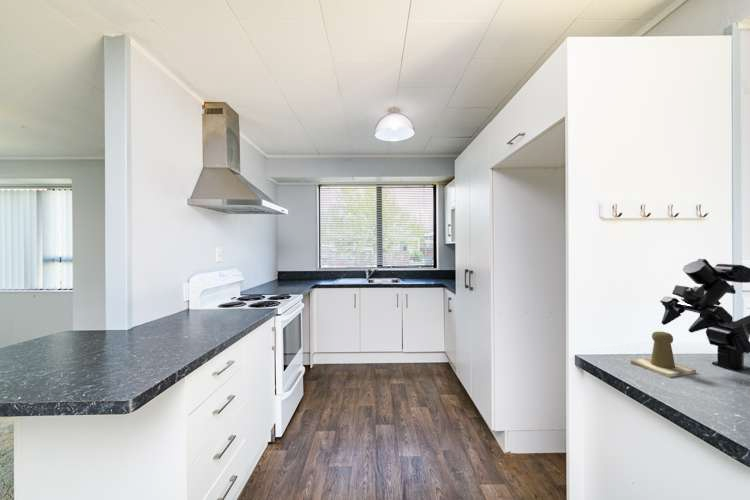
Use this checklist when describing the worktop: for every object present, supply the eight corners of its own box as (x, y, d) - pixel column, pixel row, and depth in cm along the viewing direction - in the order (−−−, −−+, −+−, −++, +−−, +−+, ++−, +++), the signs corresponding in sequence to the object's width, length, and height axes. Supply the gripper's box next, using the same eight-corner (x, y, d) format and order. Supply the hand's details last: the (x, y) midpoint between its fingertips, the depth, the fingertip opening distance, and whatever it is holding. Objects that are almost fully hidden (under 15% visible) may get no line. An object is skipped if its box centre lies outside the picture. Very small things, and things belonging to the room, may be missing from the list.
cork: (677, 370, 98) (677, 336, 98) (652, 366, 101) (651, 333, 101) (673, 363, 103) (672, 331, 103) (649, 360, 106) (648, 328, 106)
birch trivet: (655, 359, 109) (655, 356, 109) (695, 372, 98) (695, 369, 98) (630, 363, 107) (630, 360, 107) (669, 377, 95) (669, 374, 95)
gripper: (665, 274, 111) (634, 305, 111) (723, 280, 92) (686, 317, 92) (687, 295, 111) (656, 326, 111) (749, 305, 92) (712, 343, 93)
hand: (675, 327), depth 102 cm, fingers open, 9 cm apart
